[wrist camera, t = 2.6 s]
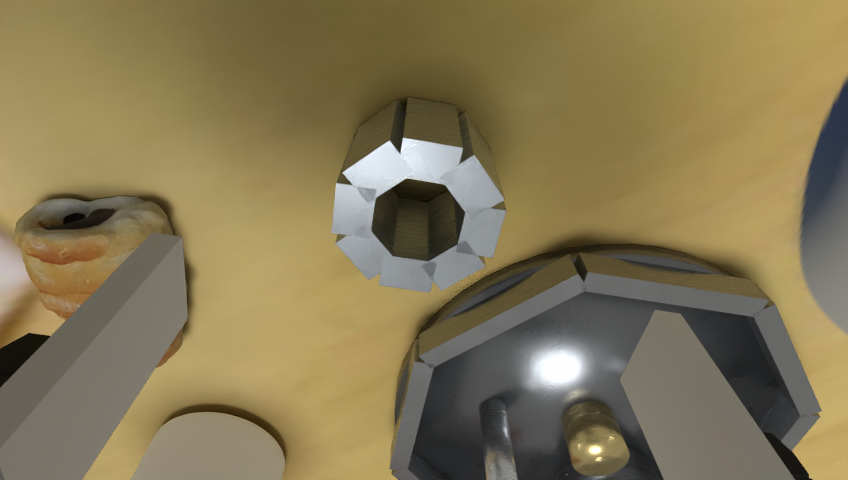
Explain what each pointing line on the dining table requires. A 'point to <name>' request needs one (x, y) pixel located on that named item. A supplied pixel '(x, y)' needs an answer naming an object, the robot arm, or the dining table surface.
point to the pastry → (85, 247)
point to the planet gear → (410, 219)
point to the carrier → (580, 366)
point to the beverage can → (211, 450)
